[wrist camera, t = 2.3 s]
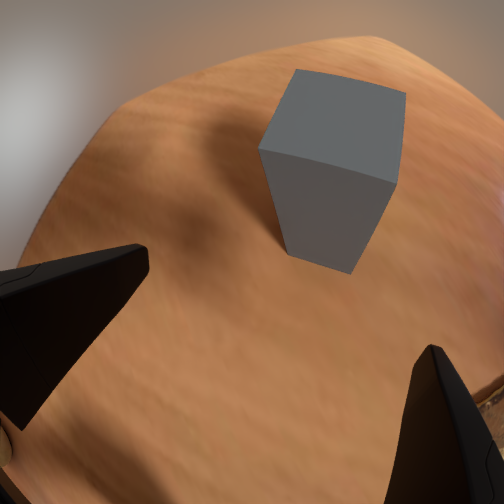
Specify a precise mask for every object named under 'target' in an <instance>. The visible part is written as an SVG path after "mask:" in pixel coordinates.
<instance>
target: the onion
mask: <svg viewBox="0 0 504 504" xmlns="http://www.w3.org/2000/svg"><path fill="white" fill-rule="evenodd" d="M11 456H12V448H11V445H10V442H9V439H8V437H7V435H6V433H5V431H4V430H3V428H2V427H1V428H0V466H1V468H2V467H5V466H6V465H7V464H8V463H9V462H10V459H11Z"/></svg>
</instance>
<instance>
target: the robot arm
mask: <svg viewBox="0 0 504 504" xmlns="http://www.w3.org/2000/svg"><path fill="white" fill-rule="evenodd" d="M148 273H149V256H148V250H147V248H146V247H145V246H142V245H140V244H131V245H125V246H120V247H115V248H110V249H105V250H100V251H95V252H91V253H86V254H81V255H76V256H72V257H67V258H62V259H58V260H53V261H49V262H44V263H42V264H41V263H39V264H35V265H31V266H26V267H21V268H16V269H11V270H5V271H0V411H1V412H2V413H3V414H4V415H5V416H6V417H7V418H8V419H9V420H10V421H11V422H12V423H13V424H14V425H15V426H16V427H18V428H19V429H20V430H21V431H23V430H24V429H25V428H26V426H27V425H28V423H29V422H30V421H31V419H32V418H33V417H34V415H35V414H36V413H37V411H38V410H39V409H40V407H41V406H42V405H43V403H44V402H45V401H46V399H47V398H48V397H49V396H50V394H51V393H52V391H53V390H54V389H55V388H56V386H57V385H58V384H59V383H60V381H61V380H62V379H63V378H64V376H65V375H66V374H67V373H68V371H69V370H70V369H71V368H72V366H73V365H74V364H75V363H76V362H77V360H78V359H79V358H80V357H81V356H82V354H83V353H84V352H85V351H86V350H87V348H88V347H89V346H90V345H91V344H92V343H93V341H94V340H95V339H96V338H97V337H98V336H99V334H100V333H101V332H102V331H103V330H104V329H105V327H106V326H107V325H108V324H109V323H110V322H111V321H112V319H113V318H114V317H115V316H116V315H117V314H118V313H119V312H120V310H121V309H122V308H123V307H124V306H125V304H126V303H127V302H128V300H129V299H130V298H131V296H132V295H133V294H134V292H135V291H136V289H137V288H138V287H139V285H140V284H141V283H142V281H143V280H144V279H145V277H146V276H147V275H148ZM0 428H1V418H0ZM0 504H31V503H30V502H29V500H28V499H27V498H26V497H25V496H24V495H23V494H22V493H21V491H20V490H19V489H18V488H17V487H16V485H15V484H14V483H13V482H12V481H11V479H10V478H9V477H8V476H7V474H6V473H5V472H4V470H3V469H2V468H1V466H0ZM384 504H504V460H503V457H502V455H501V453H500V451H499V449H498V447H497V445H496V442H495V440H493V436H492V434H491V432H490V430H489V428H488V426H487V424H486V422H485V420H484V418H483V417H482V415H481V413H480V411H479V409H478V407H477V405H476V404H475V402H474V400H473V398H472V396H471V395H470V393H469V391H468V389H467V388H466V386H465V384H464V383H463V381H462V379H461V377H460V376H459V374H458V373H457V371H456V369H455V368H454V366H453V364H452V363H451V361H450V360H449V358H448V356H447V355H446V353H445V352H444V350H443V349H442V348H441V347H439V346H436V345H432V344H430V345H428V346H427V347H426V348H425V350H424V351H423V353H422V354H421V355H420V357H419V358H418V360H417V361H416V363H415V364H414V367H413V370H412V375H411V380H410V385H409V390H408V394H407V399H406V403H405V407H404V412H403V416H402V422H401V429H400V435H399V441H398V446H397V451H396V456H395V461H394V466H393V470H392V474H391V478H390V482H389V486H388V490H387V494H386V497H385V501H384Z"/></svg>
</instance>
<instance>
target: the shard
mask: <svg viewBox="0 0 504 504" xmlns="http://www.w3.org/2000/svg"><path fill="white" fill-rule="evenodd" d="M477 407H478V409H479V411H480V413H481V415H482V417H483V418H484V420H485V422H486V424H487V426H488V428H489V430H490V432H491V434H492V436H493V440H495V442H496V445H497V447H498V449H499V451H500V453H501V455H502V457H503V460H504V385H503V386H502V387H501V388H500V389H498V390H496V391H495V392H494V393H493V394H492V395H491V396H490V397H489V398H487V399H486V400H484V401H482V402H481V403H479V404H477Z"/></svg>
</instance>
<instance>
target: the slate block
mask: <svg viewBox="0 0 504 504" xmlns="http://www.w3.org/2000/svg"><path fill="white" fill-rule="evenodd" d="M405 104H406V93H404V92H401V91H398V90H395V89H391V88H388V87H384V86H380V85H377V84H373V83H369V82H365V81H360V80H356V79H351V78H347V77H342V76H337V75H331V74H326V73H320V72H314V71H307V70H300V69H296V71H295V73H294V75H293V77H292V79H291V81H290V83H289V85H288V87H287V89H286V91H285V93H284V95H283V97H282V99H281V101H280V103H279V105H278V107H277V109H276V111H275V113H274V115H273V117H272V119H271V121H270V123H269V125H268V128H267V130H266V132H265V134H264V136H263V138H262V140H261V142H260V144H259V147H258V151H259V154H260V158H261V161H262V164H263V168H264V171H265V175H266V178H267V181H268V185H269V188H270V192H271V195H272V199H273V202H274V206H275V209H276V213H277V217H278V220H279V224H280V227H281V231H282V235H283V238H284V242H285V246H286V250H287V253H288V255H290V256H293V257H297V258H300V259H303V260H306V261H309V262H312V263H316V264H319V265H322V266H325V267H328V268H331V269H335V270H338V271H341V272H344V273H347V274H350V275H351V273H352V271H353V269H354V267H355V266H356V264H357V262H358V260H359V258H360V257H361V255H362V253H363V251H364V249H365V247H366V246H367V244H368V242H369V240H370V238H371V236H372V234H373V232H374V230H375V228H376V226H377V224H378V223H379V221H380V219H381V217H382V215H383V212H384V210H385V208H386V206H387V204H388V202H389V200H390V198H391V196H392V194H393V192H394V190H395V187H396V185H397V181H398V174H399V167H400V159H401V151H402V142H403V131H404V119H405Z"/></svg>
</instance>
